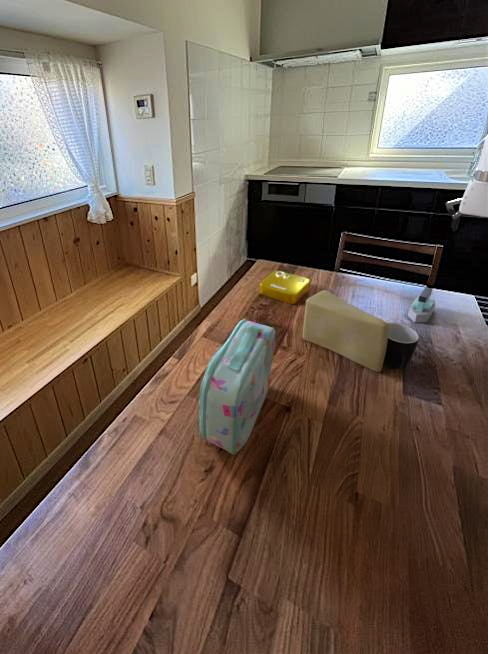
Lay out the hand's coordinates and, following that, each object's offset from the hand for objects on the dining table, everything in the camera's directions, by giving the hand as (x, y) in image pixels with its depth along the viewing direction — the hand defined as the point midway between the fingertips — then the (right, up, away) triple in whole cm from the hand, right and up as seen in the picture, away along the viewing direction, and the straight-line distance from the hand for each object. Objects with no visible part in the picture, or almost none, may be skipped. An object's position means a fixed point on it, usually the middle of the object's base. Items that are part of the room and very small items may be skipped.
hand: (473, 233), depth 102 cm
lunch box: (-74, -45, -20) cm, 89 cm away
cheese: (-41, -35, -3) cm, 54 cm away
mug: (-30, -37, -9) cm, 49 cm away
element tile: (-49, -21, +30) cm, 61 cm away
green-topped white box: (-9, -27, +11) cm, 30 cm away
